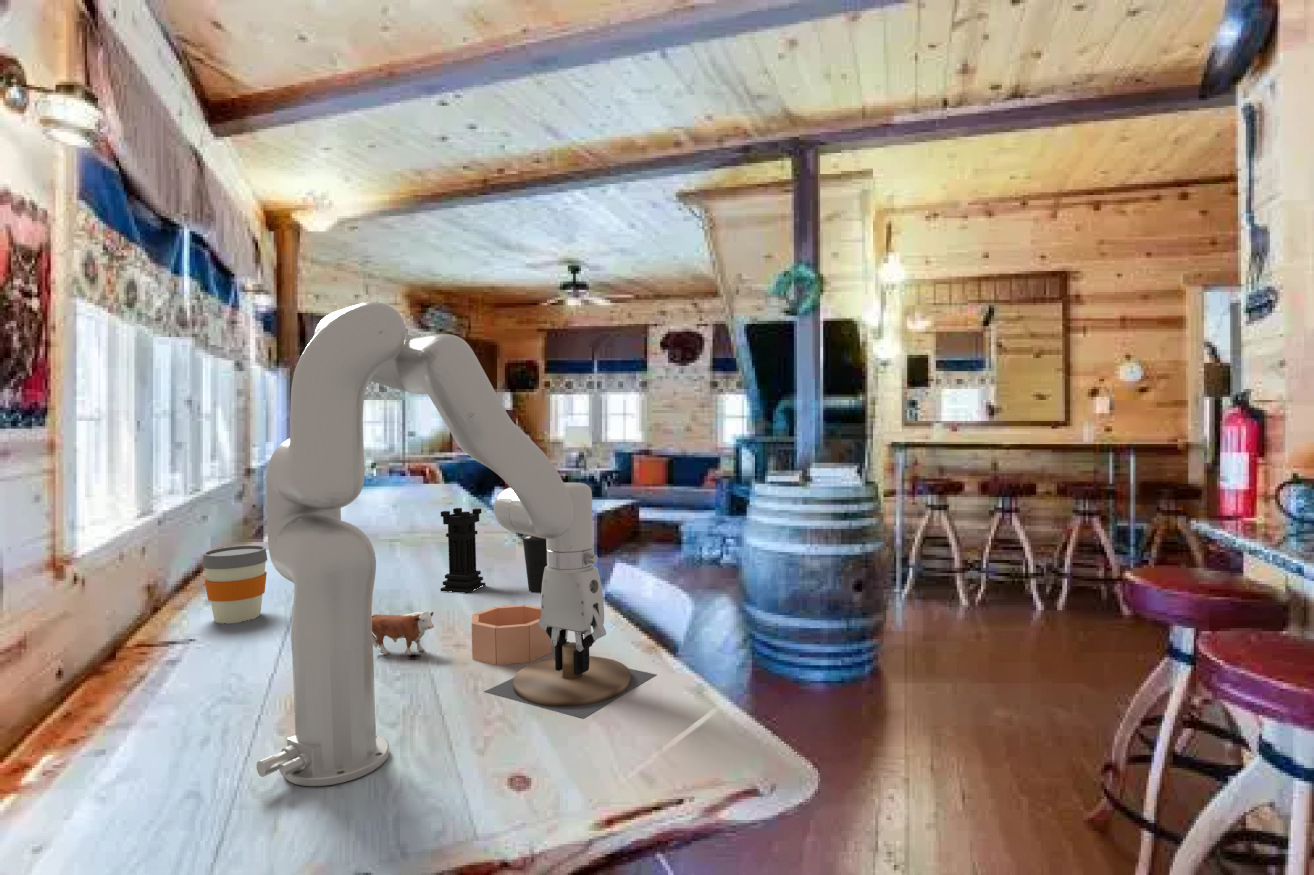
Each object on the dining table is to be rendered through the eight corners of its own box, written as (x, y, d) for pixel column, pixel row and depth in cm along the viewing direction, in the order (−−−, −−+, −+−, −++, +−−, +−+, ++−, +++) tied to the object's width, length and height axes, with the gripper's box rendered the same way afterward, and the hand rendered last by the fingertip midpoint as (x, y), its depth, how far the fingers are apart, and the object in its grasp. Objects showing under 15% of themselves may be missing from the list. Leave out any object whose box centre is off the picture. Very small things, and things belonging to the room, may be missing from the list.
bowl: (513, 671, 127) (512, 631, 127) (456, 657, 135) (455, 620, 135) (566, 648, 139) (565, 611, 139) (510, 636, 147) (509, 601, 147)
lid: (582, 716, 107) (582, 674, 107) (488, 691, 117) (487, 652, 117) (652, 674, 123) (652, 638, 123) (564, 655, 134) (563, 622, 133)
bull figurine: (430, 658, 135) (429, 614, 134) (364, 654, 137) (363, 611, 137) (442, 650, 139) (441, 608, 139) (378, 647, 142) (376, 605, 141)
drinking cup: (519, 588, 185) (517, 509, 185) (548, 585, 189) (547, 507, 188) (527, 595, 178) (525, 513, 178) (557, 591, 182) (556, 511, 181)
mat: (583, 721, 107) (583, 718, 107) (484, 694, 117) (483, 691, 117) (656, 677, 124) (656, 674, 124) (564, 657, 134) (564, 654, 134)
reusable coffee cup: (266, 621, 160) (263, 553, 159) (199, 628, 155) (196, 558, 155) (272, 607, 172) (270, 543, 171) (210, 613, 167) (207, 548, 166)
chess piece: (440, 591, 184) (438, 512, 183) (458, 584, 191) (456, 507, 191) (468, 593, 181) (466, 512, 181) (485, 585, 189) (483, 508, 188)
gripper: (624, 559, 118) (626, 672, 119) (546, 550, 127) (548, 655, 128) (596, 569, 112) (598, 687, 113) (516, 558, 121) (519, 668, 122)
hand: (572, 669), depth 120 cm, fingers closed on lid, 3 cm apart
